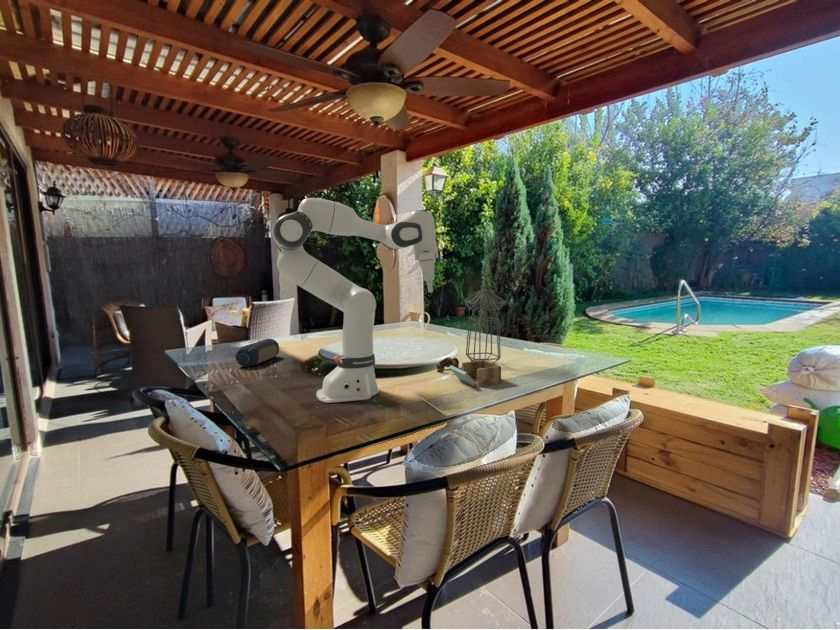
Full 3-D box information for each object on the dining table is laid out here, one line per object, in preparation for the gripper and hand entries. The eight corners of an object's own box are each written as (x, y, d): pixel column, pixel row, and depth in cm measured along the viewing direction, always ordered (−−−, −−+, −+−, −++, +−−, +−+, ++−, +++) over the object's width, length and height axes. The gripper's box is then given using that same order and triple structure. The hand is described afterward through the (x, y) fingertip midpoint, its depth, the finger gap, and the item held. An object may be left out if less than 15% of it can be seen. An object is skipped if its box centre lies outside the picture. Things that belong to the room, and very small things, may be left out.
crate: (478, 390, 158) (478, 369, 157) (461, 382, 169) (462, 362, 168) (500, 387, 163) (501, 366, 161) (483, 379, 173) (483, 359, 172)
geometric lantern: (460, 363, 199) (461, 288, 195) (491, 361, 203) (492, 288, 199) (474, 371, 184) (476, 290, 180) (507, 369, 188) (509, 289, 184)
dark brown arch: (457, 379, 175) (446, 362, 174) (440, 386, 180) (430, 369, 180) (468, 366, 184) (458, 349, 184) (452, 372, 190) (442, 356, 189)
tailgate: (474, 387, 158) (464, 374, 155) (458, 379, 168) (448, 367, 166) (476, 384, 158) (466, 372, 155) (460, 377, 168) (450, 365, 166)
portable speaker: (253, 369, 193) (251, 347, 192) (233, 368, 196) (232, 346, 194) (283, 356, 217) (282, 337, 216) (265, 355, 220) (264, 336, 218)
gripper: (418, 254, 171) (422, 288, 174) (417, 256, 151) (421, 294, 153) (434, 252, 171) (438, 286, 173) (435, 254, 151) (439, 292, 153)
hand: (430, 290), depth 163 cm, fingers open, 8 cm apart
